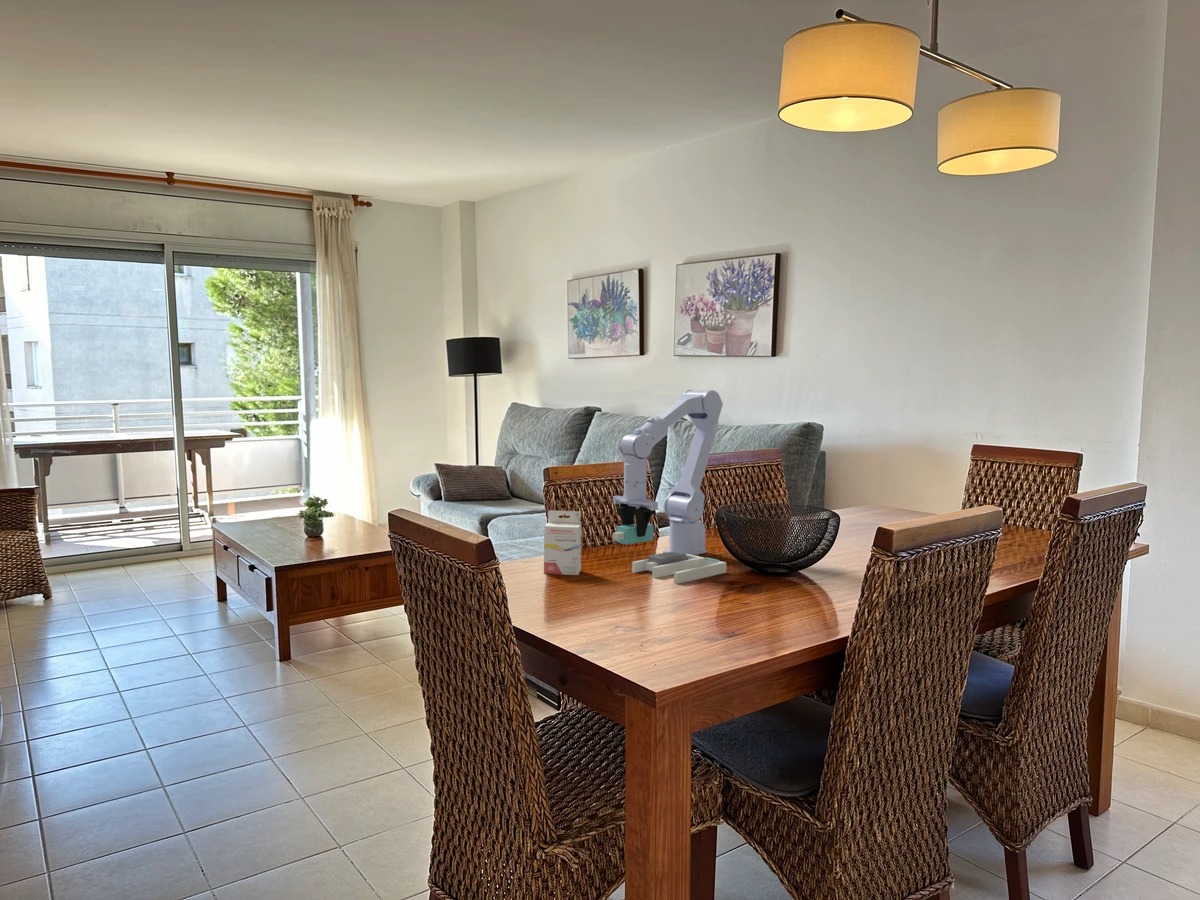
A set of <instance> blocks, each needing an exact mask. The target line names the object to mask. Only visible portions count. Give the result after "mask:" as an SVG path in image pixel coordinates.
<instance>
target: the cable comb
mask: <svg viewBox="0 0 1200 900" xmlns="http://www.w3.org/2000/svg"><path fill="white" fill-rule="evenodd" d="M685 554H686V553H685ZM686 556H687V558H688V560H684V561H679V562H674V563H669V564H665V565H660V566H655V567H652V572H651V573H652V574H651V576H652V579H658V578H659V579H660V578H662V577H668V576H671V575H673V584H675V585H678V584H683V583H686V582H687V583H688V582H691V581H696V580H700V579H704V578H710V577H713V576H717V575H721V574H722V575H723V574H726V573H727V562H726V561H720V560H721V559H720V560H719V559H715V558H710V557H703V556H699V555H690V554H686ZM647 562H649V558H644V559H641V560H640V559H639V560H636V561H635V560H634V561H631V572H632V573H640V572H645V571H646V572H647V570H646V569H645V568H646V563H647Z"/></svg>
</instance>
